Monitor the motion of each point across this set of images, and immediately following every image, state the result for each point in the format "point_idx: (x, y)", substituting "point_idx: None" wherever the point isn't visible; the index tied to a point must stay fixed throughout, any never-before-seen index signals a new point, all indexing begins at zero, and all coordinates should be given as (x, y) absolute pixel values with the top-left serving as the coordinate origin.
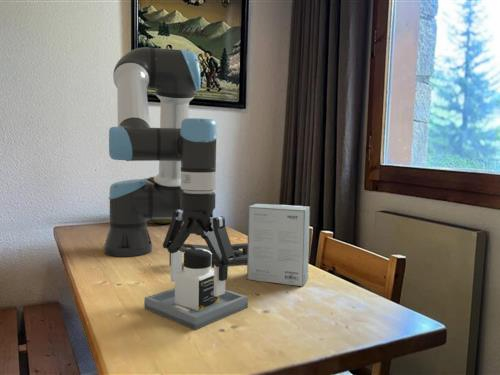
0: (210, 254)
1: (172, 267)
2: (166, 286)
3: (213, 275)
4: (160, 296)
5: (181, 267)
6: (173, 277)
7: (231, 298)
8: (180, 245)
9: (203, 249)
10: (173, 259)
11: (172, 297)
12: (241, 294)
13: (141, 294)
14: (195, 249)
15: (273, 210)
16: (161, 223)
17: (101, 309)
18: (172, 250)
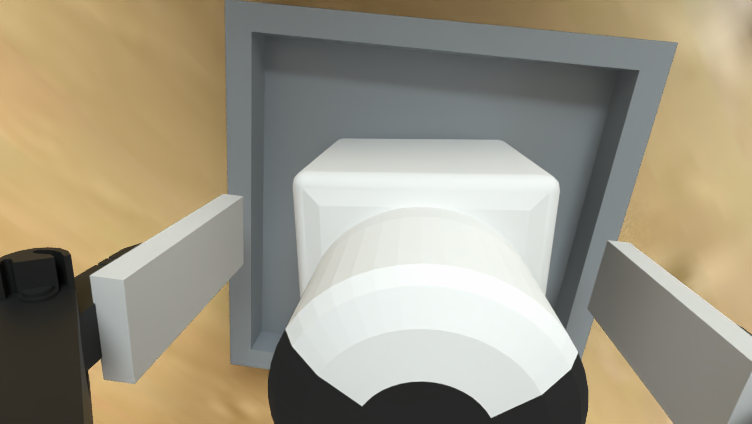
0: (582, 375)
1: (196, 310)
2: (79, 69)
3: (548, 259)
4: (254, 296)
5: (205, 225)
6: (232, 271)
7: (543, 62)
8: (82, 363)
9: (447, 365)
10: (166, 345)
11: (267, 223)
12: (622, 37)
13: (101, 229)
14: (369, 421)
15: None
16: None
17: (144, 410)
18: (89, 389)
